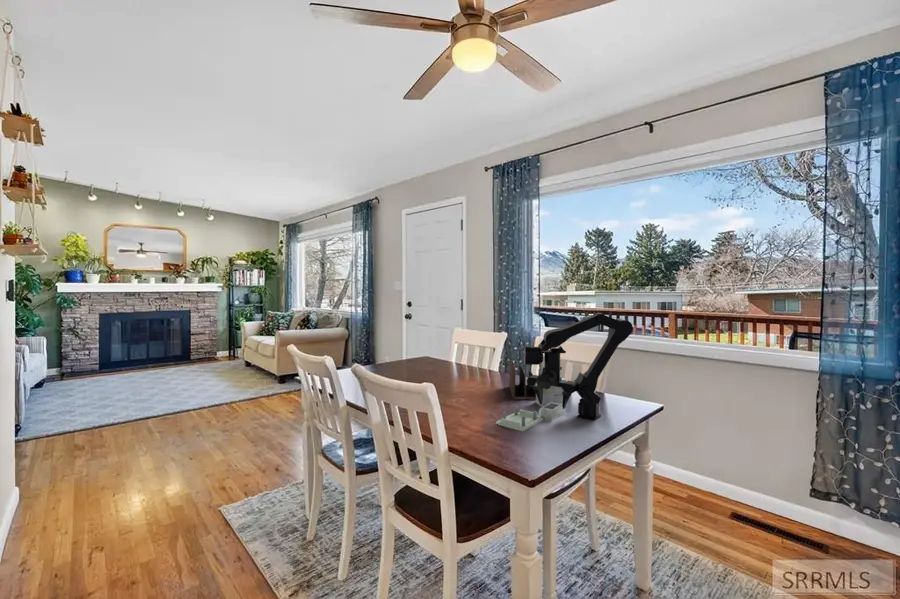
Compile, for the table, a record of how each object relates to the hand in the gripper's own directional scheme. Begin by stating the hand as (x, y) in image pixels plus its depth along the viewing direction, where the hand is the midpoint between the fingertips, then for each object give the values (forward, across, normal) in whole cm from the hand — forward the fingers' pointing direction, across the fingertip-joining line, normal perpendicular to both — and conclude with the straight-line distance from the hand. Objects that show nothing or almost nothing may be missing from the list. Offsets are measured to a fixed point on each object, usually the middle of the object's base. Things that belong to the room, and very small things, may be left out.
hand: (552, 406), depth 156 cm
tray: (+4, -6, -13) cm, 15 cm away
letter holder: (+4, -24, +20) cm, 32 cm away
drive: (+4, 0, 0) cm, 4 cm away
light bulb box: (+4, -7, +13) cm, 15 cm away
